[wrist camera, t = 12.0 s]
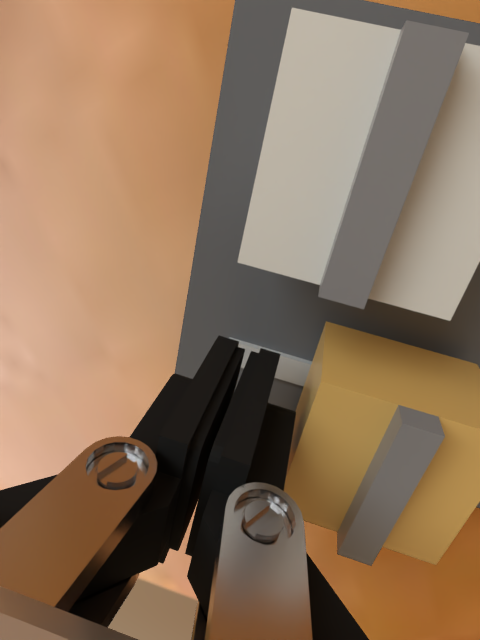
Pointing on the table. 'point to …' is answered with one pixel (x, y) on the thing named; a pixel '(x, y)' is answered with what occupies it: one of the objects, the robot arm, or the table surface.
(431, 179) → the white fader
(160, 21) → the table surface
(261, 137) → the mixer console
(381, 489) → the amber fader
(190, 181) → the table surface
